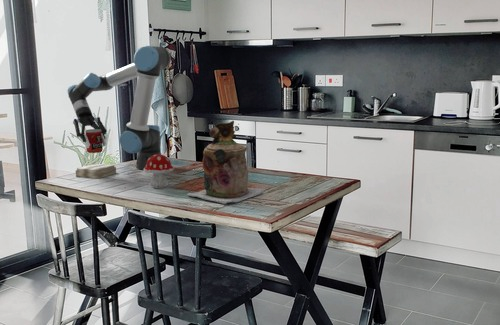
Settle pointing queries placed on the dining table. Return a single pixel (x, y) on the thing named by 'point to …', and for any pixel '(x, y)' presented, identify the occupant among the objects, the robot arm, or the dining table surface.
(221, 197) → the cookie jar
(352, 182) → the dining table surface
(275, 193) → the dining table surface
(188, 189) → the dining table surface
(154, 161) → the decorative mushroom
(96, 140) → the canned food
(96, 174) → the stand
